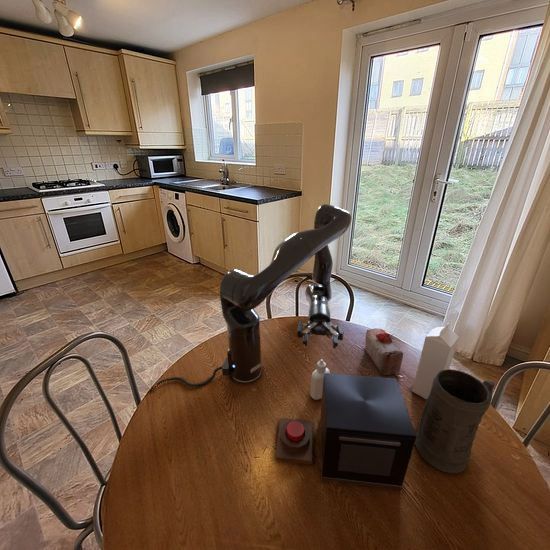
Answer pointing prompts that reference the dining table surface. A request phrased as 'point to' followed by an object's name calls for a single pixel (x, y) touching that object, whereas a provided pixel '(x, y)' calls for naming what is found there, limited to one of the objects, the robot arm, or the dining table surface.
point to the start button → (295, 431)
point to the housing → (294, 444)
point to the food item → (383, 351)
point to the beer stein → (452, 419)
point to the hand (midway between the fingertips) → (320, 344)
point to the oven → (364, 431)
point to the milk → (434, 358)
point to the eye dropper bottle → (318, 380)
